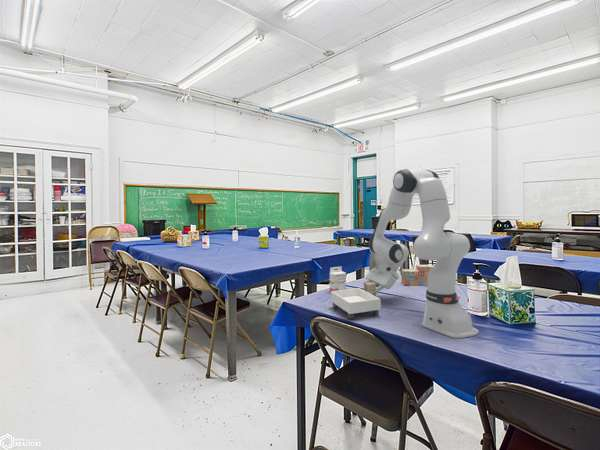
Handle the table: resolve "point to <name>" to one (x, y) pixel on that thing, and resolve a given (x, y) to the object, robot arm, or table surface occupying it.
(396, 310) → the table surface
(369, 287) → the maple part block
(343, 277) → the ink cartridge box
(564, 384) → the table surface
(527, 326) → the table surface
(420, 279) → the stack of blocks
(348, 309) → the tray
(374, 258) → the grey bottle
